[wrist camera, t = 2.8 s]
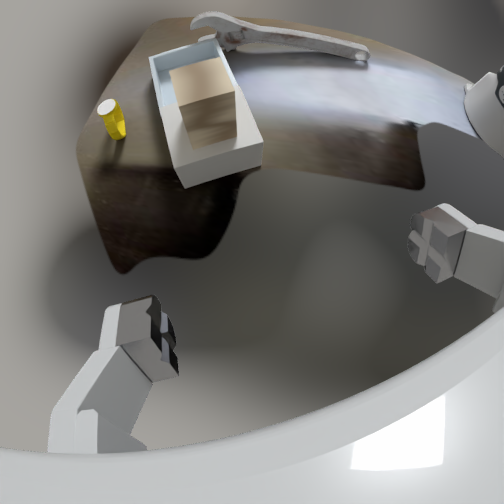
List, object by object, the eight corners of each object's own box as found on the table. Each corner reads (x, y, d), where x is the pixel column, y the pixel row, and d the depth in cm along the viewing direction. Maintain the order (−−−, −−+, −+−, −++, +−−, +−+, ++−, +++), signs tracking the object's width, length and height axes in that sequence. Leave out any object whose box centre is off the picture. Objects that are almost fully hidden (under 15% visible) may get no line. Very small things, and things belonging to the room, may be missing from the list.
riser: (239, 112, 38) (239, 84, 32) (261, 165, 36) (263, 141, 30) (170, 132, 37) (159, 107, 31) (184, 188, 36) (174, 168, 30)
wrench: (360, 72, 43) (190, 52, 39) (358, 65, 44) (191, 46, 39) (379, 44, 35) (190, 16, 31) (376, 38, 36) (191, 10, 32)
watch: (112, 119, 38) (97, 95, 32) (128, 113, 38) (115, 88, 32) (113, 148, 36) (96, 125, 31) (131, 142, 37) (115, 117, 31)
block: (224, 104, 31) (220, 56, 23) (237, 136, 30) (234, 90, 23) (183, 116, 31) (169, 71, 23) (192, 149, 30) (178, 106, 22)
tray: (217, 55, 40) (216, 38, 36) (241, 110, 38) (241, 92, 34) (154, 73, 39) (148, 57, 35) (167, 132, 37) (160, 116, 33)
